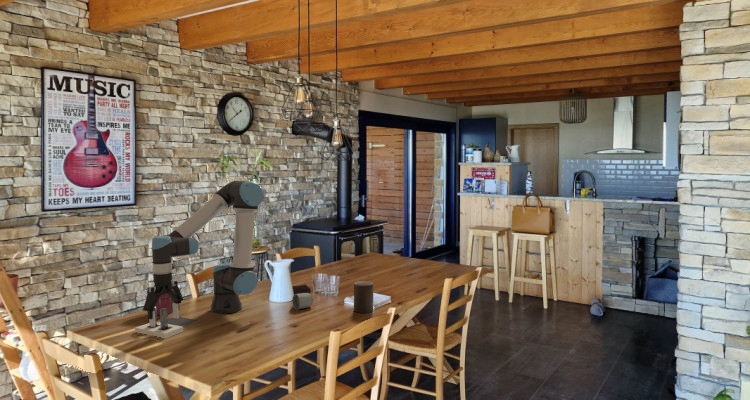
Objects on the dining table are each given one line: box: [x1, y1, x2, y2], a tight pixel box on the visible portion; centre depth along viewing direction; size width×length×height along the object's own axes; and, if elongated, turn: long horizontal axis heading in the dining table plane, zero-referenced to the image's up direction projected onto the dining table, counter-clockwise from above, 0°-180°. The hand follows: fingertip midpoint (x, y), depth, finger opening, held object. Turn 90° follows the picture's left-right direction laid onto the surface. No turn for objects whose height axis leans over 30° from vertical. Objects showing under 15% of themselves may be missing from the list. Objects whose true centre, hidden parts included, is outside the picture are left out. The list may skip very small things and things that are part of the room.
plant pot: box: [146, 285, 175, 316], centre depth 259 cm, size 14×14×13 cm
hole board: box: [134, 321, 184, 340], centre depth 229 cm, size 10×18×2 cm, turn 63°
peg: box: [159, 308, 169, 331], centre depth 228 cm, size 3×3×11 cm
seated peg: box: [150, 306, 158, 328], centre depth 231 cm, size 3×3×11 cm
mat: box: [168, 316, 198, 327], centre depth 243 cm, size 14×14×1 cm
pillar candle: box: [353, 280, 374, 314], centre depth 260 cm, size 10×10×15 cm
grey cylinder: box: [291, 292, 313, 310], centre depth 267 cm, size 11×8×8 cm
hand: (164, 322), depth 228 cm, fingers open, 12 cm apart
